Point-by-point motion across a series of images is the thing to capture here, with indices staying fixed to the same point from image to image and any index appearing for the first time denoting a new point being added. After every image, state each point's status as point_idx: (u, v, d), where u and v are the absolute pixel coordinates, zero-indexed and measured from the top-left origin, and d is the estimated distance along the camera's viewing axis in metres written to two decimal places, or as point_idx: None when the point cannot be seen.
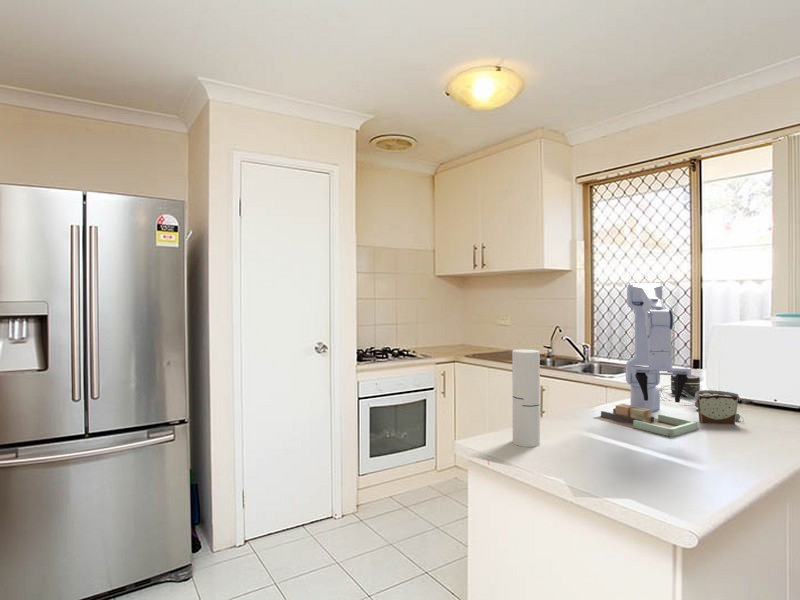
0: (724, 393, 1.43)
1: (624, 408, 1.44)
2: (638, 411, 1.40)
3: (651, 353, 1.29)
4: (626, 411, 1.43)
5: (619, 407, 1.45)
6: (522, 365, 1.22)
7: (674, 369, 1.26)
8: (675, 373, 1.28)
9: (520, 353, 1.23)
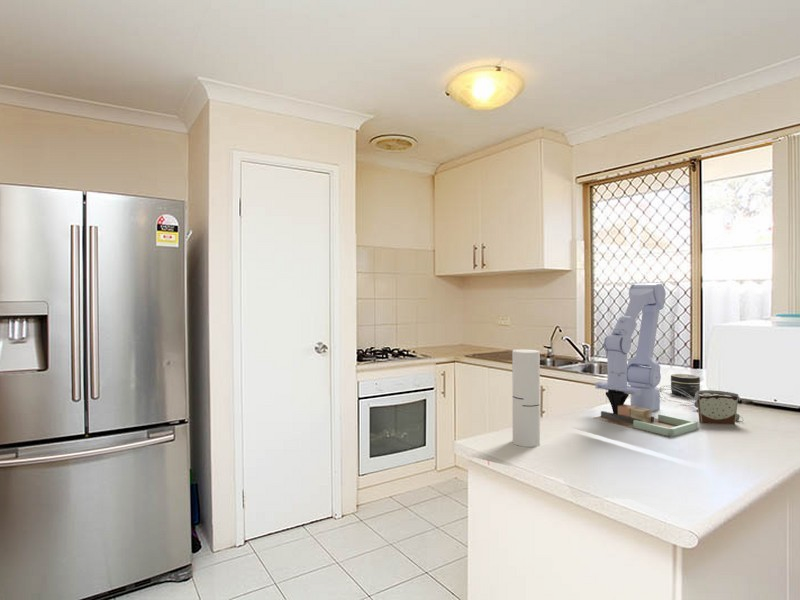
0: (724, 393, 1.43)
1: (626, 408, 1.43)
2: (638, 411, 1.40)
3: (607, 373, 1.49)
4: (628, 412, 1.43)
5: (621, 407, 1.45)
6: (522, 365, 1.22)
7: (621, 389, 1.45)
8: (627, 392, 1.45)
9: (520, 353, 1.23)
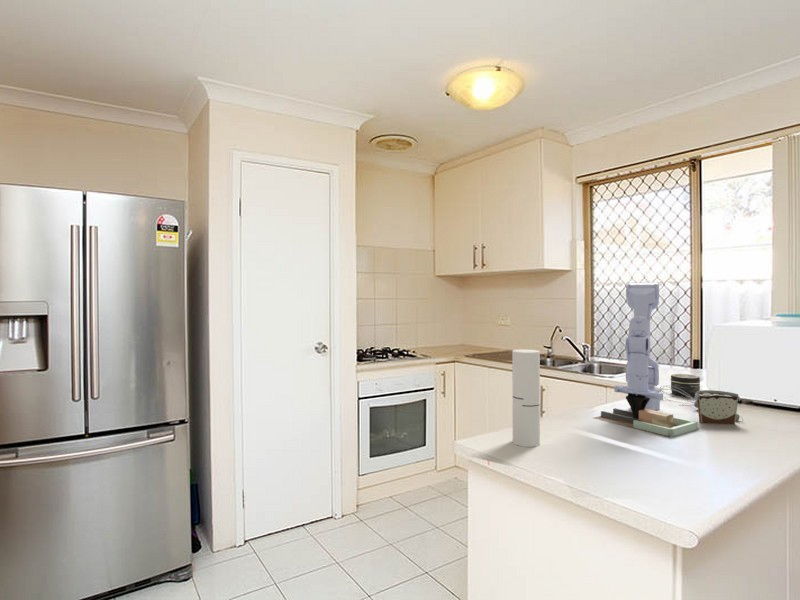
0: (724, 393, 1.43)
1: (648, 413, 1.37)
2: (660, 416, 1.34)
3: None
4: (650, 416, 1.37)
5: (642, 412, 1.39)
6: (521, 365, 1.22)
7: (643, 392, 1.39)
8: (648, 396, 1.39)
9: (520, 353, 1.23)
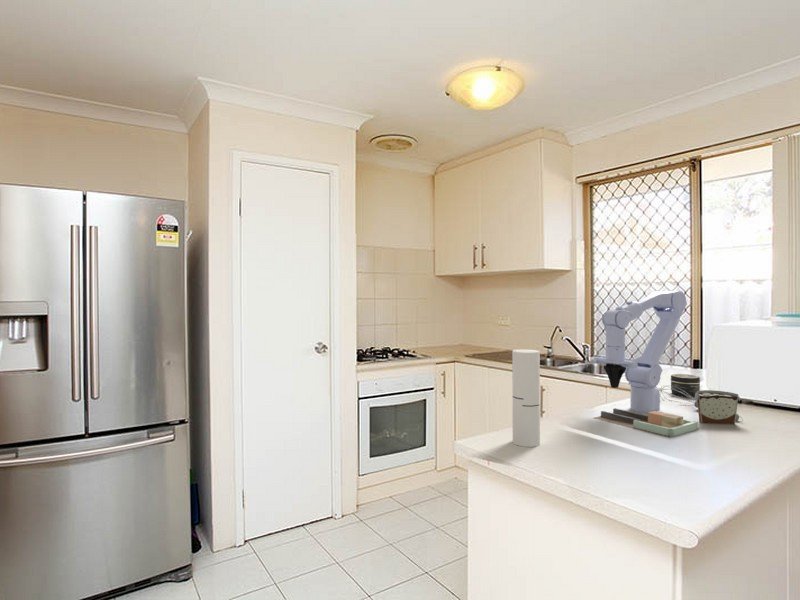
0: (724, 393, 1.43)
1: (658, 415, 1.35)
2: (670, 418, 1.32)
3: None
4: (660, 419, 1.34)
5: (652, 414, 1.36)
6: (522, 365, 1.22)
7: (619, 362, 1.49)
8: (624, 365, 1.50)
9: (520, 353, 1.23)
